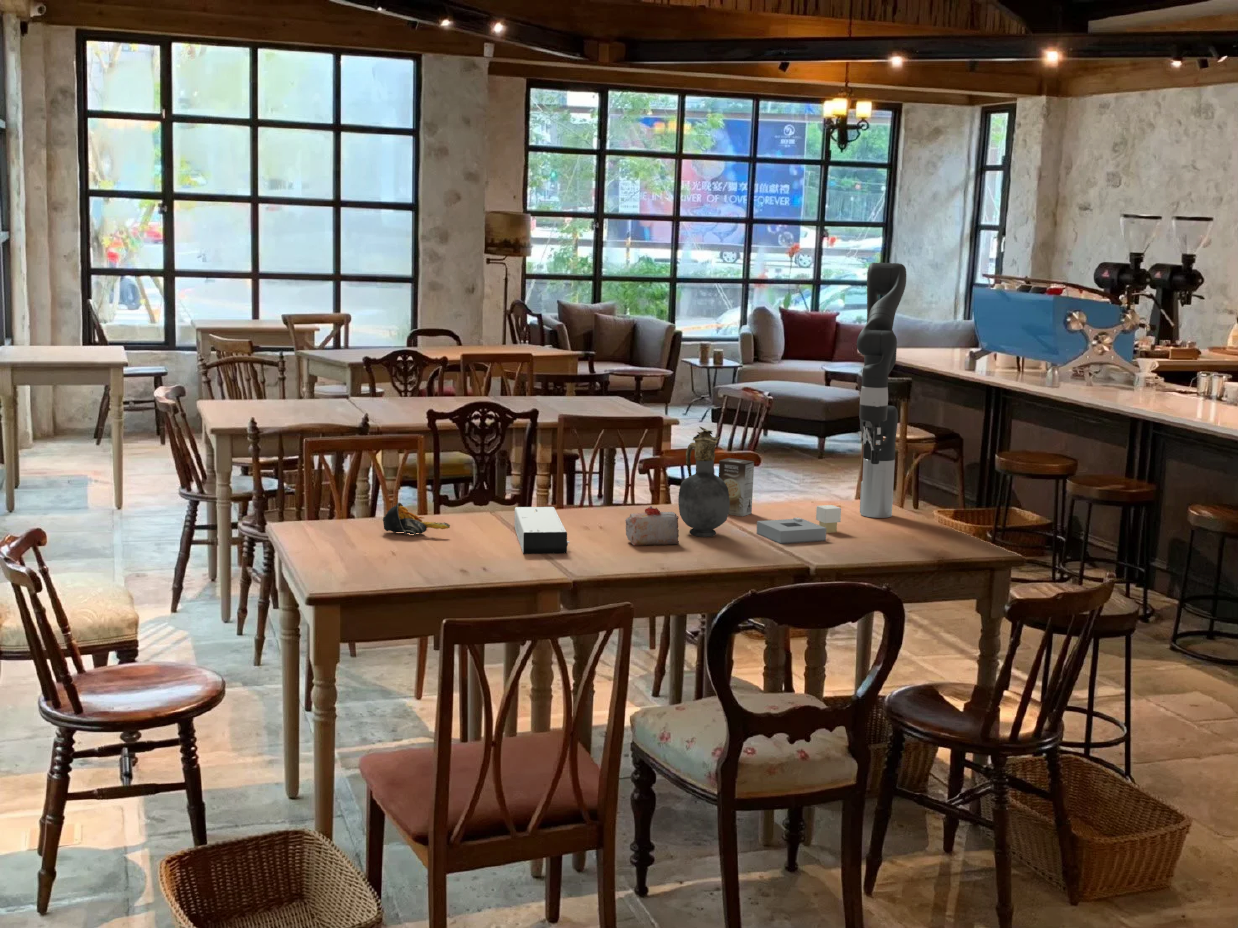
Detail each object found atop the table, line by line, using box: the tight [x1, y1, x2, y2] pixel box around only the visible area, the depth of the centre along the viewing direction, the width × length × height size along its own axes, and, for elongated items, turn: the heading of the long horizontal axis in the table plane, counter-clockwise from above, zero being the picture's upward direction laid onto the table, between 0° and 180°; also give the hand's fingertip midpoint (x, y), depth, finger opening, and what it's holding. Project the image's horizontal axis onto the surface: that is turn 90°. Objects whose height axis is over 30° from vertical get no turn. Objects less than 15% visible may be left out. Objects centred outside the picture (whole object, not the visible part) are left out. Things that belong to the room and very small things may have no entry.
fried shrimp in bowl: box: [382, 502, 451, 536], centre depth 361 cm, size 9×11×18 cm
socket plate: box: [756, 517, 827, 545], centre depth 366 cm, size 14×14×4 cm
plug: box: [815, 504, 842, 534], centre depth 375 cm, size 5×5×7 cm
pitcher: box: [677, 426, 730, 538], centre depth 367 cm, size 11×19×30 cm, turn 22°
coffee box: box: [718, 457, 755, 517], centre depth 398 cm, size 9×6×16 cm
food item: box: [625, 505, 680, 547], centre depth 355 cm, size 14×8×10 cm, turn 102°
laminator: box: [514, 506, 570, 555], centre depth 357 cm, size 34×12×6 cm, turn 8°
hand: (870, 461), depth 367 cm, fingers open, 8 cm apart
